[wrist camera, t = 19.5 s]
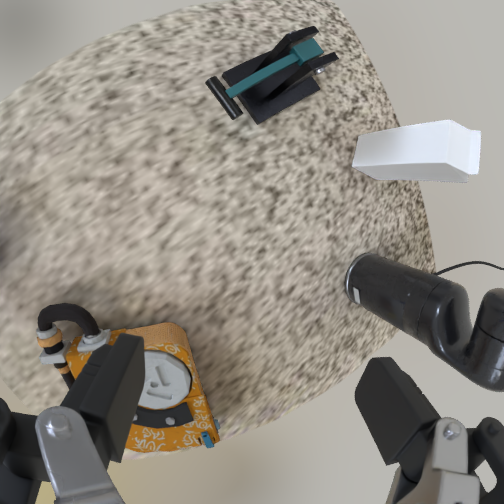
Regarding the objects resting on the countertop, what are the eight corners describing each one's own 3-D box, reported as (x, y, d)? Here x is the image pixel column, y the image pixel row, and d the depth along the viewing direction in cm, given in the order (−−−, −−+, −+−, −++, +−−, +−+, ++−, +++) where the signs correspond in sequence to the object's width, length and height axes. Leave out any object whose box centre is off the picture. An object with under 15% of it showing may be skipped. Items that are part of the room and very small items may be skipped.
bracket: (257, 124, 36) (297, 98, 24) (221, 75, 33) (246, 31, 21) (316, 91, 38) (367, 64, 26) (284, 47, 34) (325, 8, 22)
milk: (350, 166, 42) (466, 163, 21) (358, 134, 41) (469, 115, 20) (376, 180, 44) (487, 185, 23) (383, 149, 43) (490, 142, 22)
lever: (232, 121, 29) (232, 119, 27) (206, 84, 27) (203, 80, 25) (326, 68, 27) (332, 63, 25) (300, 33, 25) (304, 26, 23)
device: (105, 469, 31) (14, 322, 24) (107, 438, 39) (37, 299, 31) (228, 453, 37) (181, 291, 29) (218, 421, 45) (177, 271, 37)
